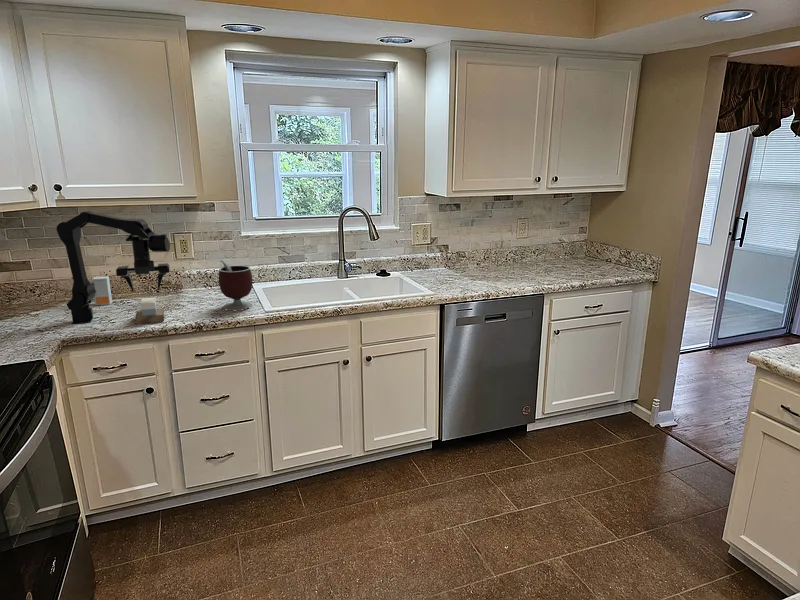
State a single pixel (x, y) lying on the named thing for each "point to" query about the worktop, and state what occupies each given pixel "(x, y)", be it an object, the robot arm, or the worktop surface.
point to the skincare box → (102, 290)
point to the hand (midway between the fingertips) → (146, 290)
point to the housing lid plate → (148, 303)
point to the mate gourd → (235, 285)
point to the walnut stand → (149, 317)
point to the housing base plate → (149, 312)
